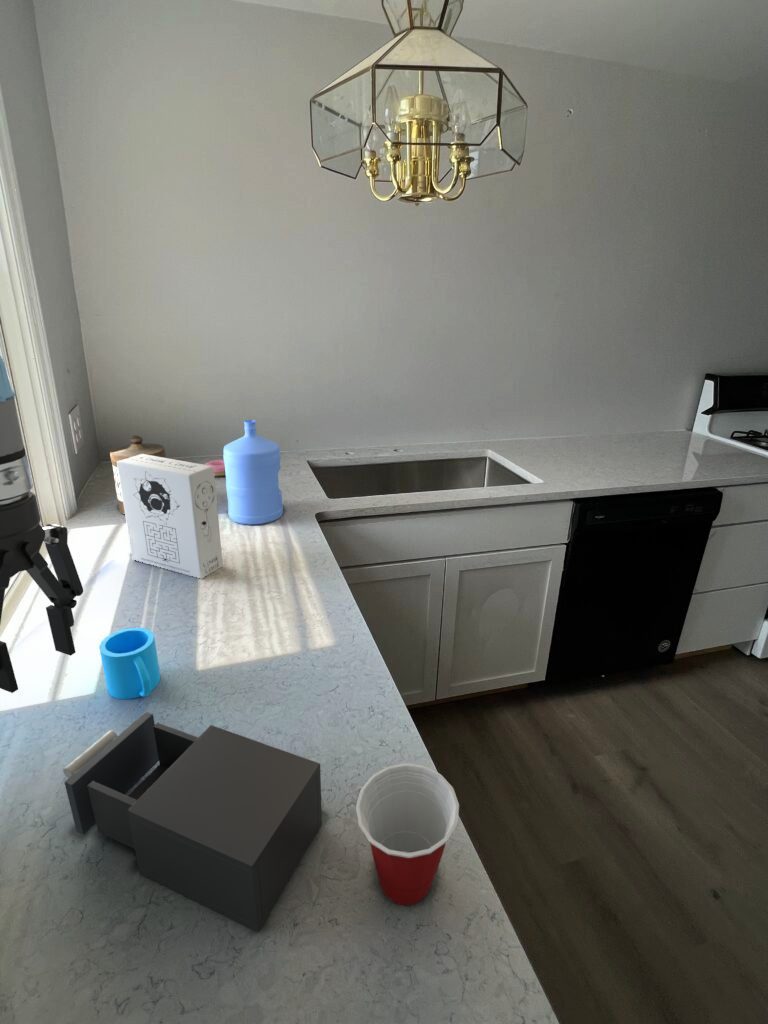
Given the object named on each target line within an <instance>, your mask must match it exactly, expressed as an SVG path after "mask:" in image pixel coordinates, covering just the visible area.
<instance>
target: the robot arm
mask: <svg viewBox="0 0 768 1024" xmlns="http://www.w3.org/2000/svg"><path fill="white" fill-rule="evenodd" d="M15 399H16V393H15V390H14V389H13V386H12V383H11V379H10V376H9V373H8V370H7V366H6V363H5V360H4V359H3V357H2V356H1V355H0V624H1V622H2V615H3V609H4V600H5V595H6V594H5V593H6V590H7V589H8V588H9V586H10V582H11V581H10V580H11V578H13V577H15V576H16V575H17V574H18V573H20V572H24V571H25V572H27V574H28V575H29V576H30V577H31V578H32V580H33V581H34V583H35V584H36V585H37V586H38V587H39V589H40V590H41V591H42V593H43V595H45V596H46V597H47V599H48V600H49V601H50V602H51V604H50V605H47V606H46V607H45V610H46V615H47V619H48V623H49V627H50V628H49V629H50V632H51V637H52V641H53V645H54V650H55V652H58V653H61V654H64V655H68V656H73V655H74V654H76V652H77V651H76V648H75V641H74V639H73V633H72V629H71V628H72V627H73V626H74V625H75V619H74V615H73V614H74V613H73V609H74V608H75V607H76V606H77V603H78V601H77V599H76V597H80V596H81V595H83V593H84V587H83V585H82V582H81V578H80V575H79V572H78V570H77V567H76V564H75V561H74V558H73V556H72V553H71V550H70V547H69V544H68V537H69V536H68V528H67V527H66V526H63V525H58V524H53V523H47V524H46V525H45V526H42V525H41V521H42V518H41V513H40V508H39V504H38V499H37V495H36V494H35V492H33V491H32V489H33V487H34V482H33V479H32V474H31V470H30V465H29V460H28V455H27V453H26V448H25V445H24V441H23V436H22V435H23V434H22V430H21V426H20V419H19V415H18V411H17V405H16V400H15ZM43 543H44V545H45V549H46V551H47V554H48V557H49V560H50V562H51V565H52V567H53V571H54V573H53V572H52V571H51V569H50V568H49V563H48V562H47V560H46V559H45V558H44V557H43V555H42V553H40V551H41V548H42V545H43ZM0 689H1V690H4V691H6V692H9V693H10V694H13V693H15V692H16V691H18V690H19V685H18V683H17V678H16V675H15V670H14V668H13V664H12V660H11V656H10V652H9V648H8V645H7V642H5V641H2V640H0Z"/></svg>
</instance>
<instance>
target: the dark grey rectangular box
mask: <svg viewBox="0 0 768 1024" xmlns="http://www.w3.org/2000/svg"><path fill="white" fill-rule="evenodd" d="M321 775H322V774H321V763H320V762H317V761H314V760H311V759H309V758H305V757H304V756H303V757H302V756H300V755H297V754H294V753H292V752H289V751H287V750H286V751H285V750H283V749H280V748H278V747H274V746H271V745H269V744H266V743H263V742H260V741H257V740H255V739H252V738H249V737H246V736H243V735H241V734H238V733H234V732H232V731H229V730H226V729H223V728H221V727H218V726H215V725H213V724H210V725H209V726H208V727H207V728H206V729H205V730H204V732H202V734H200V735H199V737H198V739H197V740H196V741H195V742H194V743H193V744H192V745H191V746H190V747H189V748H188V749H187V750H186V751H185V752H184V753H183V754H182V755H181V756H180V757H179V758H178V759H177V760H176V761H175V762H174V763H173V764H172V765H171V766H170V767H169V768H168V769H167V771H166V772H165V773H164V774H163V775H162V776H161V777H160V778H159V779H158V780H157V781H156V782H155V783H154V784H153V785H152V786H151V787H150V788H149V789H148V790H147V791H146V792H145V793H144V794H143V795H142V796H141V797H140V798H139V799H138V800H137V801H136V802H135V803H134V804H133V805H132V806H131V807H130V808H129V809H128V810H127V812H128V817H129V822H130V827H131V832H132V837H133V842H134V847H135V849H134V852H135V856H136V861H137V867H138V871H139V875H141V876H143V877H144V878H147V879H149V880H150V881H153V882H155V883H157V884H159V885H161V886H163V887H165V888H167V889H169V890H171V891H172V892H175V893H177V894H179V895H181V896H183V897H186V898H187V899H189V900H191V901H193V902H195V903H197V904H200V905H202V906H204V907H205V908H207V909H209V910H211V911H214V912H216V913H218V914H220V915H221V916H224V917H226V918H227V919H230V920H231V921H234V922H236V923H238V924H240V925H242V926H244V927H246V928H248V929H250V930H252V931H254V932H256V933H259V932H260V931H261V929H262V927H263V925H264V924H265V922H266V920H267V918H268V917H269V915H270V913H271V912H272V910H273V908H274V907H275V905H276V903H277V902H278V900H279V898H280V896H281V894H282V893H283V891H284V889H285V888H286V886H287V885H288V883H289V881H290V879H291V878H292V876H293V874H294V872H295V871H296V869H297V867H298V866H299V864H300V862H301V860H302V858H303V856H304V855H305V853H306V852H307V850H308V848H309V846H310V845H311V843H312V841H313V840H314V838H315V836H316V834H317V833H318V831H319V829H320V827H321V826H322V824H323V820H322V819H323V816H322V813H323V812H322V782H321V781H322V780H321Z"/></svg>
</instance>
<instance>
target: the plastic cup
mask: <svg viewBox="0 0 768 1024" xmlns="http://www.w3.org/2000/svg"><path fill="white" fill-rule="evenodd" d="M355 811H356V816H357V824H358V827H359V829H360V830H361V831H362V833H363V834H364V835H365V836H366V838H367V840H368V842H369V844H370V845H369V846H370V849H371V854H372V857H373V862H374V867H375V870H376V871H375V872H377V877H378V881H379V882H378V883H379V887H381V890H382V892H383V893H384V895H385V896H386V898H388V899H389V900H390V901H392V902H393V903H395V904H397V905H401V906H412V905H416V904H418V903H419V902H421V901H422V900H424V899H425V897H426V896H427V894H428V893H429V891H430V889H431V888H432V886H433V881H434V879H435V876H436V874H437V872H438V869H439V866H440V863H441V859H442V858H443V857H442V856H443V854H444V850H445V847H446V845H447V843H448V841H449V839H450V837H451V836H452V834H453V832H454V831H455V829H456V827H457V826H458V823H459V811H460V803H459V801H458V797H457V795H456V792H455V788H454V786H452V785H451V784H450V783H449V782H448V781H447V779H446V778H445V777H444V776H443V775H442V774H441V773H439V772H437V771H436V770H434V769H432V768H430V767H428V766H426V765H422V764H415V763H408V762H405V763H404V762H403V763H399V764H394V765H389V766H385V767H383V768H382V769H381V770H379V771H377V772H375V773H374V774H372V775H371V776H370V777H369V779H367V781H366V782H365V784H364V785H363V786H362V787H361V788H360V791H359V795H358V798H357V801H356V804H355ZM420 900H421V901H420ZM417 902H418V903H417ZM411 904H412V905H411Z"/></svg>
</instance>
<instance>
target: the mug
mask: <svg viewBox="0 0 768 1024" xmlns="http://www.w3.org/2000/svg"><path fill="white" fill-rule="evenodd" d="M98 649H99V651H100V658H101V664H102V668H103V675H104V677H105V678H104V679H105V683H106V688H107V693H108V694H109V695H110V696H111V697H112V698H115V699H118V700H131V699H136V698H140V697H142V698H146V697H148V696H150V695H151V693H152V691H153V690H155V688H157V686H158V685H159V683H160V682H161V671H160V666H159V657H158V652H157V645H156V639H155V635H154V632H153V631H151V630H150V629H148V628H145V627H137V626H136V627H127V628H124V629H119V630H117V631H115V632H112V633H110V634H109V635H107V636H105V637H104V638H103V639H102V641H101V642H100V644H99V647H98Z"/></svg>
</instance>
